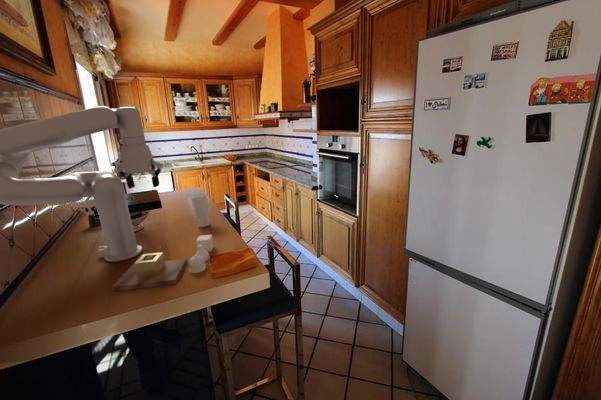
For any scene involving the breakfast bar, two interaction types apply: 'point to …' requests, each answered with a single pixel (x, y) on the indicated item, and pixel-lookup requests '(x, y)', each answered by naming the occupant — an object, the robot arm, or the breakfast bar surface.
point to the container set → (201, 253)
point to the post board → (165, 278)
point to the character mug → (90, 211)
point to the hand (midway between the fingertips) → (144, 187)
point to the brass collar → (150, 265)
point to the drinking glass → (201, 209)
